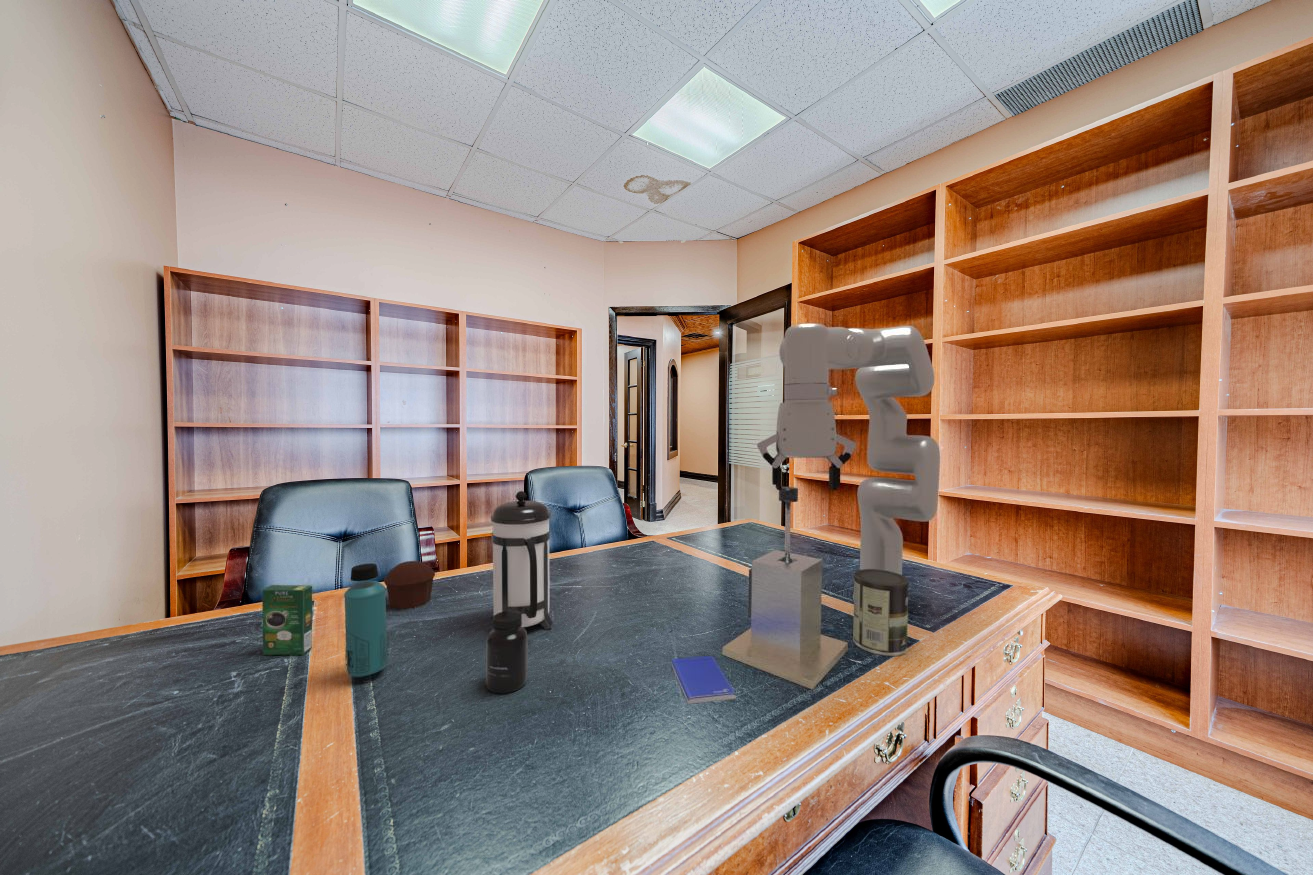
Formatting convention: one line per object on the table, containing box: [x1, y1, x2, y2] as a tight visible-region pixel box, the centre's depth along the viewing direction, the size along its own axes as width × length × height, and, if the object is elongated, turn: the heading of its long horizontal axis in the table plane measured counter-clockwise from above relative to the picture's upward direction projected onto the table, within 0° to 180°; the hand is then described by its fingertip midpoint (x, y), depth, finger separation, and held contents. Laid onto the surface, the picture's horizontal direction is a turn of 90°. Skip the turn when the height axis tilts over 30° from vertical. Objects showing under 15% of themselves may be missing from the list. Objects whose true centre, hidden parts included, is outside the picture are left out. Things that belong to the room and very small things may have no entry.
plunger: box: [778, 486, 799, 563], centre depth 92 cm, size 7×7×16 cm
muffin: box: [383, 560, 436, 610], centre depth 117 cm, size 12×11×10 cm
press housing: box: [722, 549, 849, 690], centre depth 92 cm, size 18×18×18 cm
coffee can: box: [852, 569, 910, 657], centre depth 96 cm, size 10×10×14 cm
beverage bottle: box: [343, 563, 389, 678], centre depth 83 cm, size 6×7×20 cm
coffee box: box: [261, 584, 313, 656], centre depth 92 cm, size 8×3×13 cm, turn 92°
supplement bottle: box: [485, 611, 528, 695], centre depth 81 cm, size 7×7×12 cm
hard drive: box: [670, 655, 737, 705], centre depth 83 cm, size 2×8×12 cm
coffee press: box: [490, 490, 554, 631], centre depth 103 cm, size 17×16×30 cm
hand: (805, 489), depth 85 cm, fingers open, 9 cm apart
